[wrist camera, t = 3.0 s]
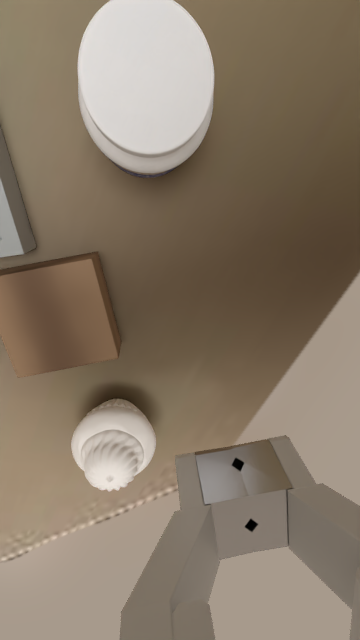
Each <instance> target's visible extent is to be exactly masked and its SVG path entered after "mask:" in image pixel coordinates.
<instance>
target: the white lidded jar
mask: <svg viewBox="0 0 360 640" xmlns="http://www.w3.org/2000/svg"><path fill="white" fill-rule="evenodd" d="M155 447H156V436H155V432H154V430H153V428H152V426H151V424H150V423H149V420H148V419H147V418H146V416H145V415H144V414H143V413H142V412H141V411H140V410H139V409H138V408H137V407H136V406H135V405H133V404H132V403H130V402H129V401H126V400H123V399H118V398H117V399H113V400H108V401H106V402H104V403H102V404H101V405H99V406H97V407H95V408H94V409H93V410H92V411H90V412H88V413H87V416H85V417H84V418H83V419H82V421H81V422H80V423H79V424H78V426H77V427H76V429H75V431H74V433H73V436H72V441H71V448H72V454H73V457H74V459H75V461H76V463H77V464H78V466H79V467H80V468H81V469H82V470H84V471H85V477H86V478H87V480H88V481H89V482H90V484H91V485H92V486H94V487H98V488H99V489H100V490H105V489H107V490H108V491H111V490H112V489H115V490H119V489H120V487H126V486H127V485H128V482H131V481H132V480H133V479H134V476H135V475H136V474H138V473H139V472H141V471H142V470H143V469H144V468H145V467H146V466H147V465H148V464H149V462H150V461H151V459H152V457H153V454H154V451H155Z"/></svg>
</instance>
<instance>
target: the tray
mask: <svg viewBox="0 0 360 640" xmlns="http://www.w3.org/2000/svg"><path fill="white" fill-rule="evenodd" d="M34 248H36V243H35V240H34V237H33V233H32V230H31V227H30V223H29V220H28V216H27V213H26V210H25V206H24V203H23V200H22V196H21V193H20V190H19V186H18V183H17V179H16V176H15V173H14V169H13V166H12V163H11V159H10V156H9V153H8V149H7V146H6V142H5V139H4V136H3V132H2V129H1V126H0V257H7V256H13V255H20V254H25V253H27V252H29V251H31V250H32V249H34Z"/></svg>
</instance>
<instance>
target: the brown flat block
mask: <svg viewBox="0 0 360 640" xmlns="http://www.w3.org/2000/svg"><path fill="white" fill-rule="evenodd" d="M0 336H1V338H2V341H3V343H4V346H5V348H6V350H7V353H8V355H9V358H10V360H11V363H12V365H13V368H14V370H15V372H16V375H17V377H18V378H20V377H26V376H31V375H36V374H41V373H46V372H51V371H56V370H61V369H67V368H72V367H77V366H82V365H87V364H92V363H97V362H102V361H108V360H113V359H118V358H119V353H120V347H121V339H120V335H119V331H118V327H117V324H116V320H115V316H114V312H113V308H112V305H111V301H110V297H109V293H108V289H107V285H106V282H105V278H104V274H103V270H102V266H101V263H100V259H99V255H98V252H92V253H87V254H82V255H76V256H71V257H66V258H60V259H55V260H50V261H44V262H39V263H34V264H28V265H23V266H18V267H12V268H7V269H2V270H0Z"/></svg>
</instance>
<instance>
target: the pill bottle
mask: <svg viewBox="0 0 360 640" xmlns="http://www.w3.org/2000/svg"><path fill="white" fill-rule="evenodd" d="M78 81H79V82H78V97H79V105H80V110H81V114H82V117H83V120H84V123H85V126H86V128H87V131H88V132H89V134H90V136H91V138H92V139H93V141H94V142H95V144H96V145H97V146H98V148H99V149H100V150H101V151H102V152H103V153H104V154H105V155H106V156H107V157H108V158H109V159H110V160H111V161H112V162H113V163H114V164H115V165H116V166H118V167H119V168H120V169H121V170H123V171H125V172H126V173H128V174H130V175H133V176H136V177H141V178H155V177H159V176H162V175H165V174H167V173H168V172H170V171H172V170H173V169H175V168H176V167H177V166H179V165H180V164H182V163H183V162H184V161H186V160H187V159H188V158H189V157H190V156H191V155H192V154H193V153H194V152H195V151H196V149H197V148H198V147H199V145H200V144H201V142H202V141H203V139H204V137H205V134H206V132H207V130H208V127H209V124H210V120H211V116H212V111H213V91H214V65H213V60H212V55H211V52H210V48H209V45H208V43H207V40H206V38H205V36H204V34H203V32H202V30H201V29H200V27H199V25H198V24H197V23H196V21H195V20H194V19H193V17H192V16H191V15H190V14H189V13H188V12H187V11H186V10H185V9H184V8H183V7H182V6H181V5H179V4H178V3H176V2H175V1H173V0H110V1H109V2H108V3H106V4H105V5H104V6H103V7H102V8H101V9H100V10H99V11H98V12H97V13H96V14H95V15H94V17H93V18H92V20H91V21H90V23H89V24H88V26H87V28H86V31H85V33H84V35H83V38H82V41H81V45H80V49H79V56H78Z"/></svg>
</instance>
